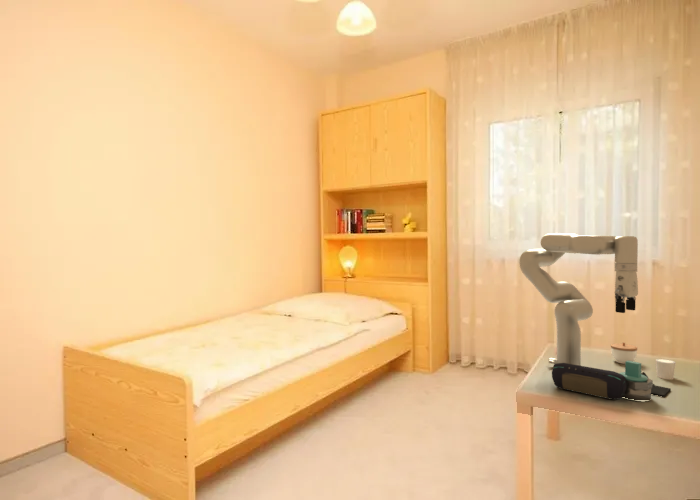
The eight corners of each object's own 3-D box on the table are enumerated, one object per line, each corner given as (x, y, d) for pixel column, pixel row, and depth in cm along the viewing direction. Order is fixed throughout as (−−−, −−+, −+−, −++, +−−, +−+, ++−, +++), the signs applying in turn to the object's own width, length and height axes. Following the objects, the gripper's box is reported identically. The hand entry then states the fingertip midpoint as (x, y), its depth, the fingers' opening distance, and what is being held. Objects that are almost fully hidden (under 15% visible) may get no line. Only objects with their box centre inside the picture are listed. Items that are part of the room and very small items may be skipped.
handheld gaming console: (671, 394, 158) (651, 369, 163) (652, 403, 161) (633, 378, 166) (672, 390, 167) (653, 366, 172) (654, 398, 170) (636, 375, 175)
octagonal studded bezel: (612, 395, 161) (612, 377, 161) (624, 389, 167) (624, 371, 167) (644, 404, 153) (644, 384, 153) (655, 397, 159) (655, 378, 159)
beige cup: (678, 380, 179) (679, 363, 178) (660, 379, 180) (660, 362, 180) (670, 375, 185) (670, 359, 185) (652, 374, 187) (652, 358, 187)
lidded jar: (629, 366, 198) (629, 346, 198) (605, 361, 207) (606, 341, 207) (641, 363, 203) (642, 343, 203) (618, 358, 213) (618, 339, 212)
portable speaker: (548, 389, 168) (548, 364, 168) (555, 382, 176) (555, 358, 176) (623, 405, 152) (623, 377, 151) (628, 397, 159) (628, 370, 159)
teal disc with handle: (614, 383, 161) (615, 361, 161) (625, 378, 166) (625, 357, 166) (641, 390, 154) (641, 367, 154) (651, 385, 159) (651, 363, 159)
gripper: (627, 269, 161) (627, 314, 161) (645, 267, 171) (645, 310, 171) (605, 268, 167) (605, 312, 167) (624, 266, 177) (624, 307, 177)
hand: (625, 311), depth 169 cm, fingers open, 9 cm apart
